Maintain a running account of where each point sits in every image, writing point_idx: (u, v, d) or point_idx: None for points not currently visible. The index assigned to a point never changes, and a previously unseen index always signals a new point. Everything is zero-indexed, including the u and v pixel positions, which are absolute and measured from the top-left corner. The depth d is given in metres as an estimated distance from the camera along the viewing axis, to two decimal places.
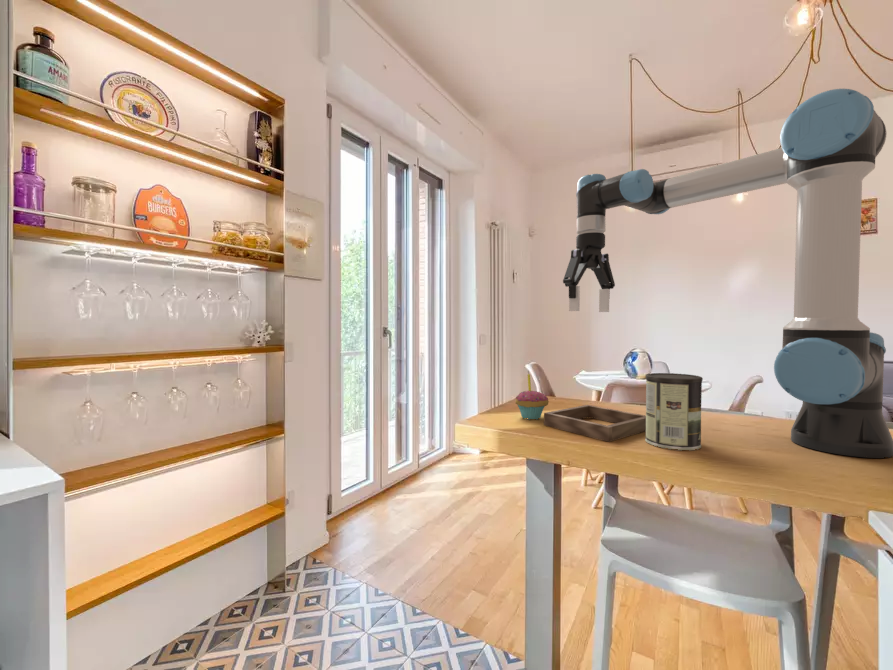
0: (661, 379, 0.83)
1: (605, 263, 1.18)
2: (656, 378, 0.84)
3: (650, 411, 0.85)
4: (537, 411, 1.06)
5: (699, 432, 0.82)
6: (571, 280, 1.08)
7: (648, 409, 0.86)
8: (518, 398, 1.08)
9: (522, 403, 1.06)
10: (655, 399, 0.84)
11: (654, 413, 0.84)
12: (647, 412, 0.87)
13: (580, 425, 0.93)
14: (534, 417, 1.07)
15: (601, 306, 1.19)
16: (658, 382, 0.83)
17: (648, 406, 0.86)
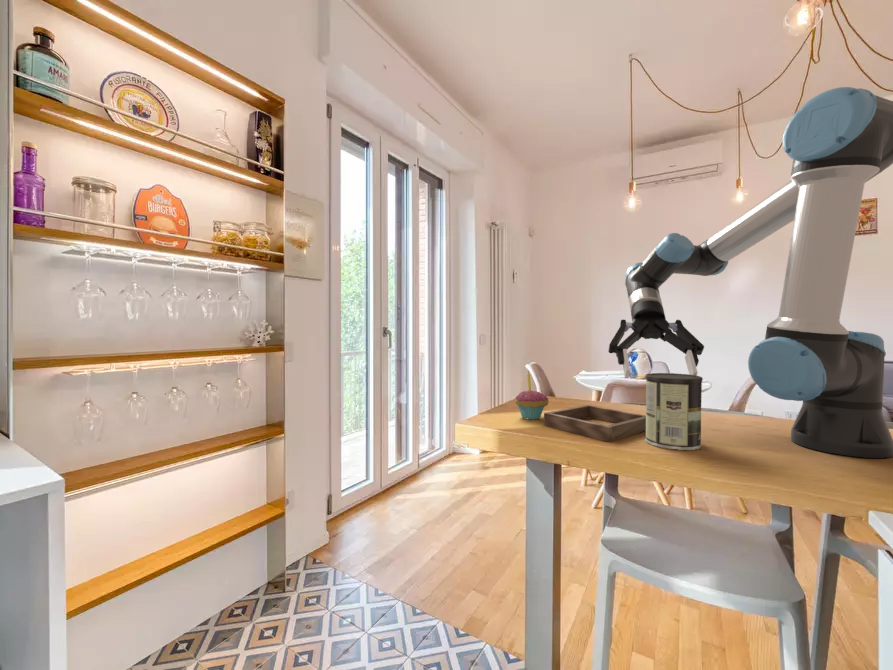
0: (661, 379, 0.83)
1: (678, 329, 1.00)
2: (656, 378, 0.84)
3: (650, 411, 0.85)
4: (537, 411, 1.06)
5: (699, 432, 0.82)
6: (611, 344, 1.00)
7: (648, 409, 0.86)
8: (518, 398, 1.08)
9: (522, 403, 1.06)
10: (655, 399, 0.84)
11: (654, 413, 0.84)
12: (647, 412, 0.87)
13: (580, 425, 0.93)
14: (534, 417, 1.07)
15: (690, 372, 0.93)
16: (658, 382, 0.83)
17: (648, 406, 0.86)
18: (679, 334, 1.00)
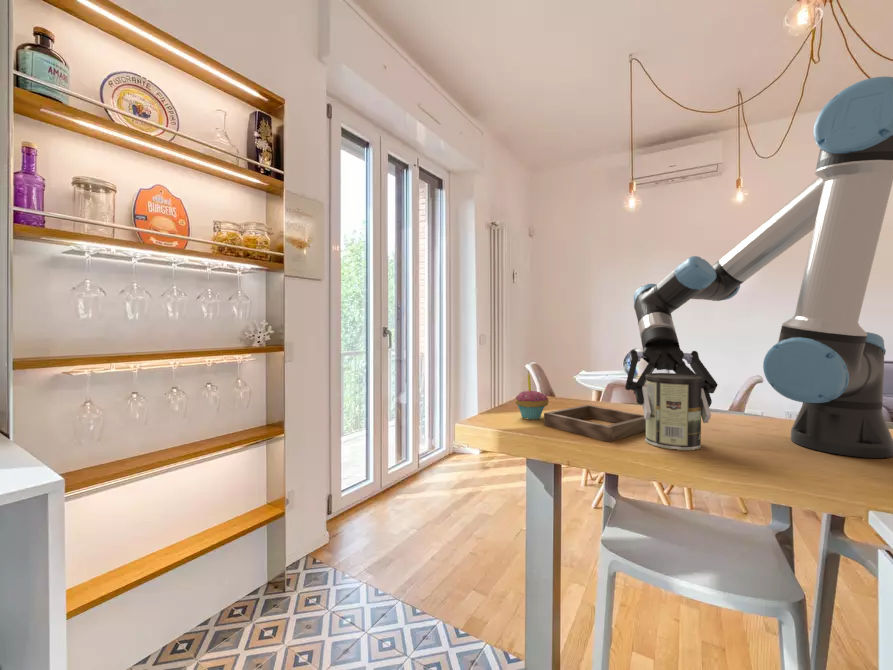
0: (661, 379, 0.83)
1: (693, 361, 0.91)
2: (656, 378, 0.83)
3: None
4: (537, 411, 1.06)
5: (699, 432, 0.82)
6: (628, 381, 0.89)
7: None
8: (518, 398, 1.08)
9: (522, 403, 1.06)
10: (655, 399, 0.84)
11: (654, 413, 0.84)
12: None
13: (580, 425, 0.93)
14: (534, 417, 1.07)
15: (702, 414, 0.83)
16: (658, 382, 0.83)
17: None
18: (693, 367, 0.91)
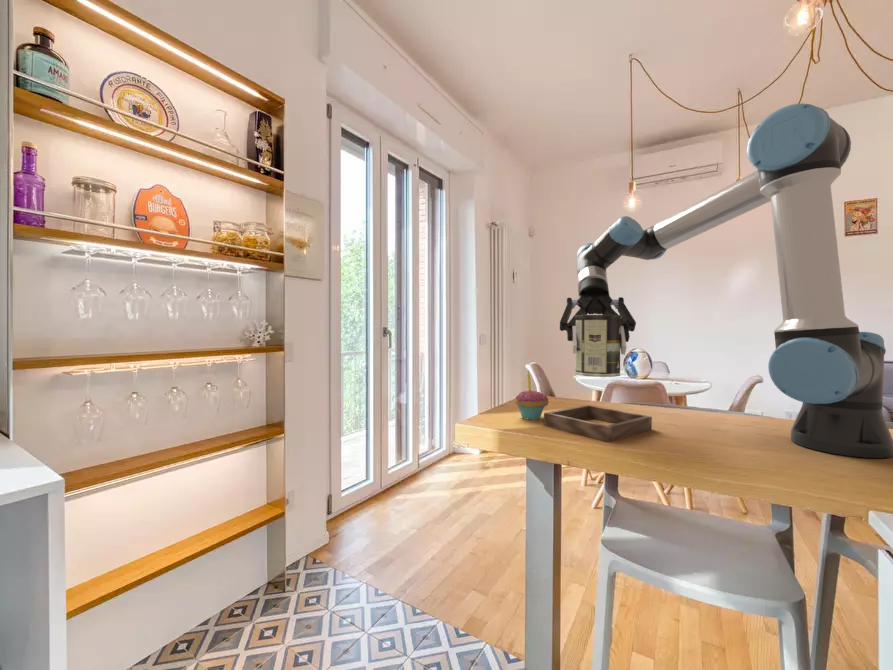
0: (585, 316, 0.95)
1: (619, 305, 1.03)
2: (581, 316, 0.96)
3: (577, 345, 0.98)
4: (537, 411, 1.06)
5: (617, 362, 0.95)
6: (561, 322, 1.02)
7: None
8: (518, 398, 1.08)
9: (522, 403, 1.06)
10: (580, 335, 0.97)
11: (580, 346, 0.97)
12: None
13: (580, 425, 0.93)
14: (534, 417, 1.07)
15: (621, 347, 0.96)
16: (583, 319, 0.96)
17: None
18: (619, 311, 1.04)
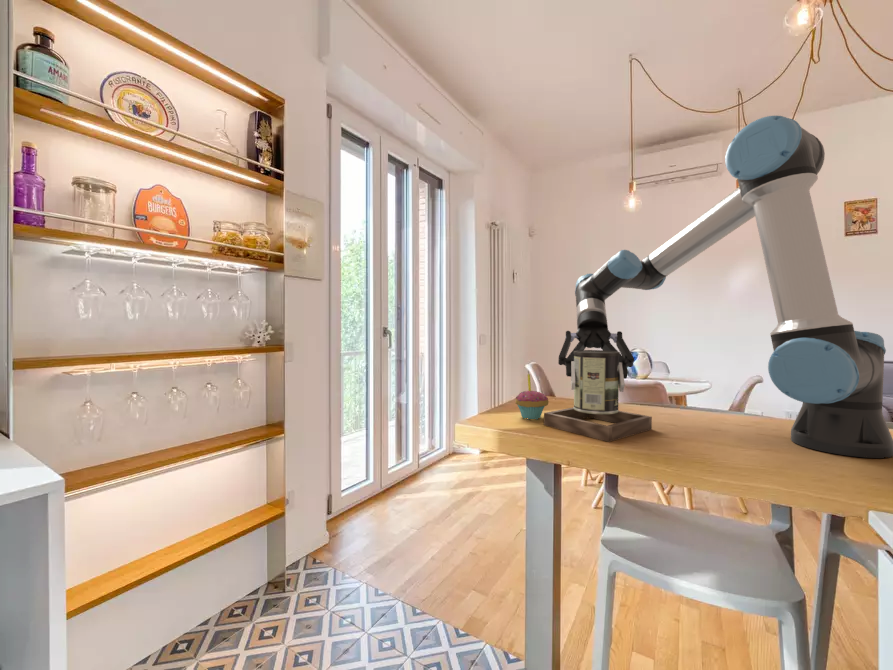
0: (583, 353, 0.96)
1: (617, 340, 1.04)
2: (580, 353, 0.97)
3: (576, 381, 0.99)
4: (537, 411, 1.06)
5: (616, 399, 0.96)
6: (560, 357, 1.03)
7: None
8: (518, 398, 1.08)
9: (522, 403, 1.06)
10: (579, 371, 0.97)
11: (578, 383, 0.98)
12: None
13: (580, 425, 0.93)
14: (534, 417, 1.07)
15: (619, 384, 0.97)
16: (581, 356, 0.97)
17: (575, 378, 0.99)
18: (618, 345, 1.04)
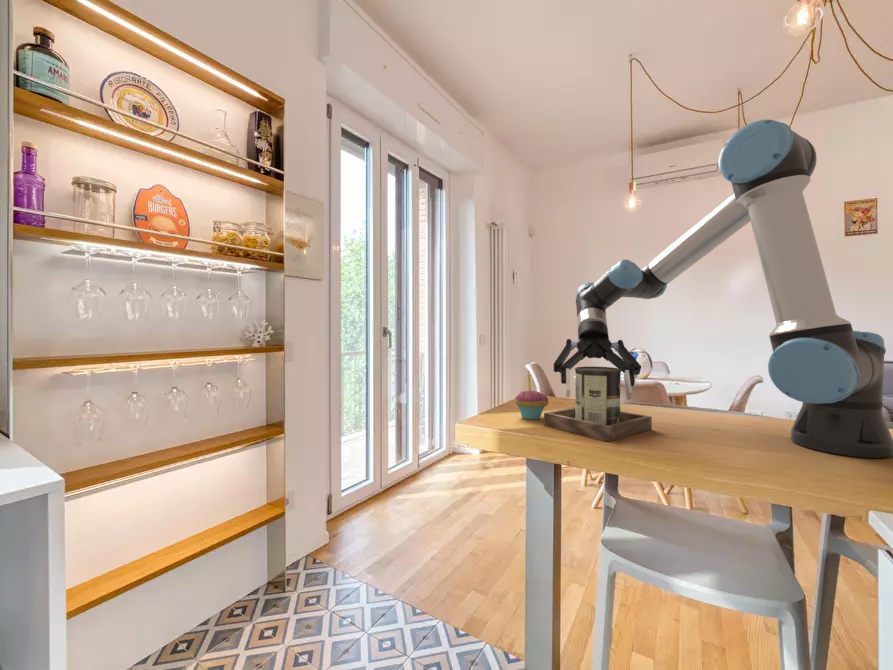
0: (585, 371, 0.96)
1: (619, 349, 1.04)
2: (581, 370, 0.97)
3: (577, 399, 0.98)
4: (537, 411, 1.06)
5: (617, 417, 0.96)
6: (555, 364, 1.03)
7: (576, 397, 0.99)
8: (518, 398, 1.08)
9: (522, 403, 1.06)
10: (580, 389, 0.97)
11: (580, 400, 0.97)
12: None
13: (580, 425, 0.93)
14: (534, 417, 1.07)
15: (626, 391, 0.97)
16: (583, 374, 0.96)
17: (576, 395, 0.99)
18: (620, 354, 1.04)
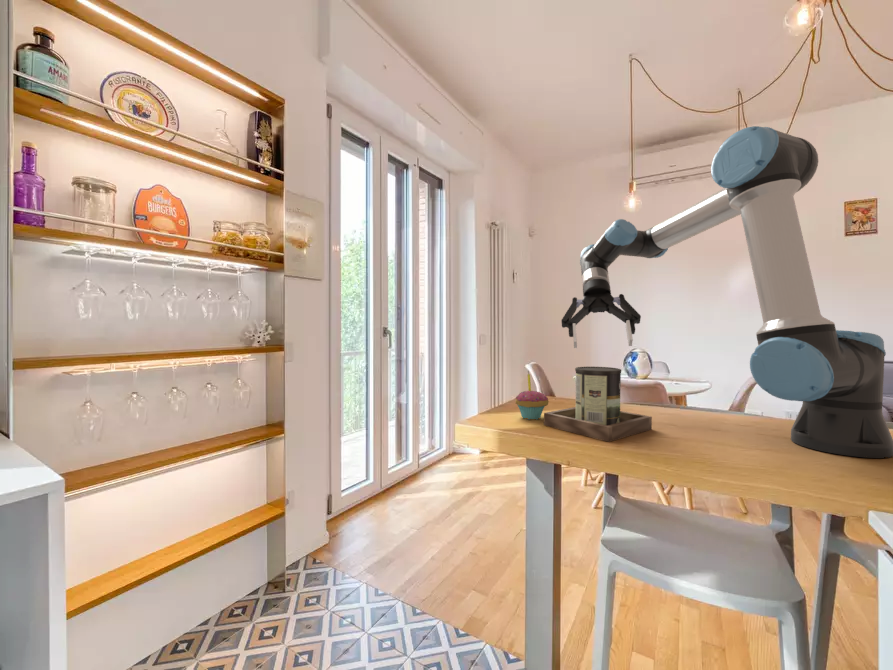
0: (585, 371, 0.96)
1: (621, 302, 1.15)
2: (581, 370, 0.97)
3: (577, 399, 0.99)
4: (537, 411, 1.06)
5: (617, 417, 0.96)
6: (562, 320, 1.16)
7: (576, 397, 0.99)
8: (518, 398, 1.08)
9: (522, 403, 1.06)
10: (581, 389, 0.97)
11: (580, 400, 0.97)
12: (576, 400, 1.00)
13: (580, 425, 0.93)
14: (534, 417, 1.07)
15: (628, 339, 1.09)
16: (583, 374, 0.96)
17: (576, 395, 0.99)
18: (622, 306, 1.15)
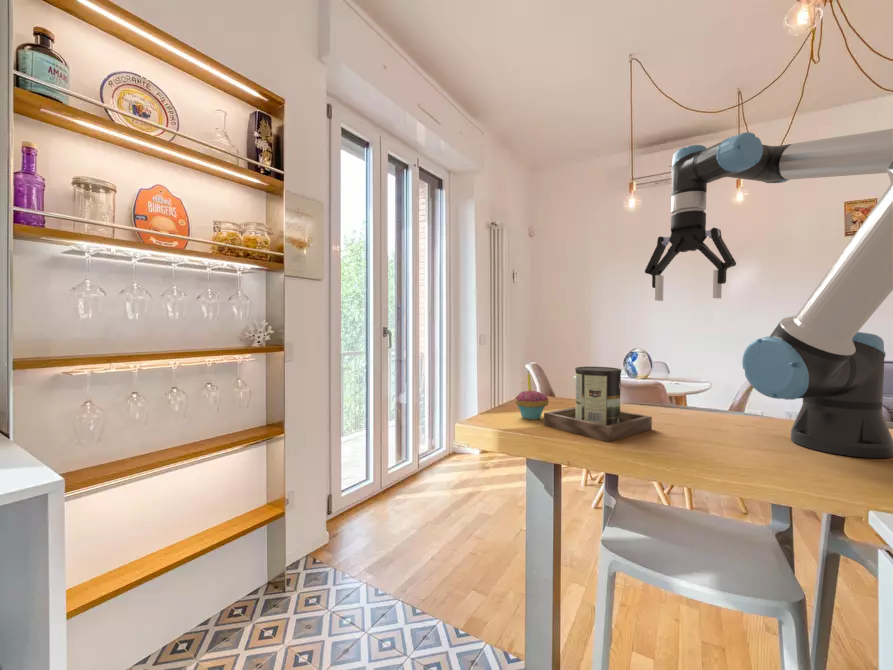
0: (585, 371, 0.96)
1: None
2: (581, 370, 0.97)
3: (577, 399, 0.98)
4: (537, 411, 1.06)
5: (617, 417, 0.96)
6: (645, 271, 1.10)
7: (576, 397, 0.99)
8: (518, 398, 1.08)
9: (522, 403, 1.06)
10: (581, 389, 0.97)
11: (580, 400, 0.97)
12: (576, 400, 1.00)
13: (580, 425, 0.93)
14: (534, 417, 1.07)
15: None
16: (583, 374, 0.96)
17: (576, 395, 0.99)
18: None
